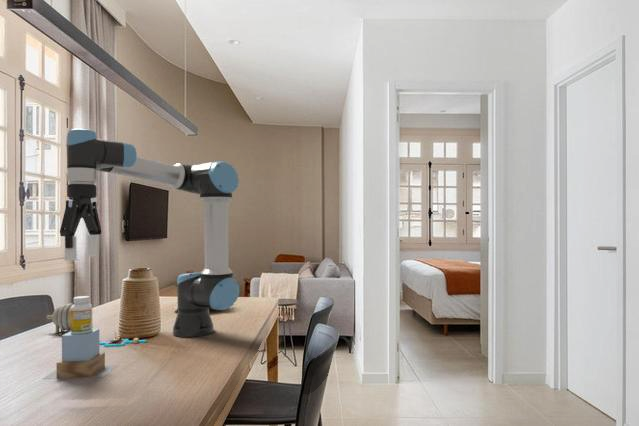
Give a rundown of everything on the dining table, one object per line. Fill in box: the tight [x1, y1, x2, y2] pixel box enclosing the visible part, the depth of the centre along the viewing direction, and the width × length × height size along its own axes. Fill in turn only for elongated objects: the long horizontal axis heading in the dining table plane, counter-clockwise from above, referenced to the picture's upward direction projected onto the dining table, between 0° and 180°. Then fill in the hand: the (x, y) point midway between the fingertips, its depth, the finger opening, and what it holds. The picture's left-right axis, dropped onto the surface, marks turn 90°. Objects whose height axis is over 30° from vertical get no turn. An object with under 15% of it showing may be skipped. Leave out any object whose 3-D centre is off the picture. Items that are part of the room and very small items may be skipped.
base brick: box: [56, 351, 106, 379], centre depth 128 cm, size 9×9×4 cm
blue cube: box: [61, 328, 100, 362], centre depth 128 cm, size 7×7×7 cm
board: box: [42, 365, 119, 380], centre depth 128 cm, size 16×10×2 cm, turn 93°
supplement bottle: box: [71, 295, 93, 334], centre depth 128 cm, size 5×5×10 cm
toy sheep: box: [45, 302, 74, 334], centre depth 182 cm, size 11×17×11 cm, turn 98°
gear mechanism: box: [99, 330, 147, 348], centre depth 164 cm, size 20×5×9 cm
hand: (82, 258), depth 132 cm, fingers open, 13 cm apart
